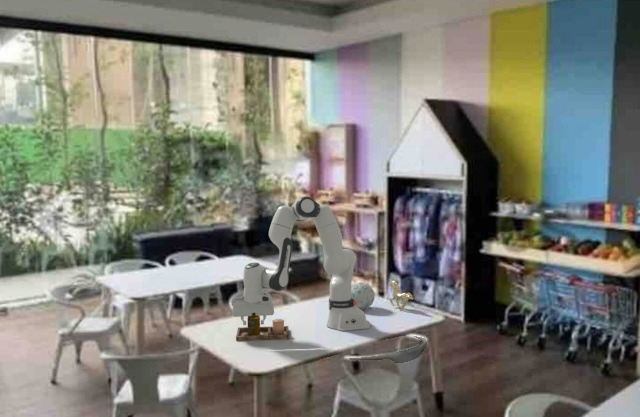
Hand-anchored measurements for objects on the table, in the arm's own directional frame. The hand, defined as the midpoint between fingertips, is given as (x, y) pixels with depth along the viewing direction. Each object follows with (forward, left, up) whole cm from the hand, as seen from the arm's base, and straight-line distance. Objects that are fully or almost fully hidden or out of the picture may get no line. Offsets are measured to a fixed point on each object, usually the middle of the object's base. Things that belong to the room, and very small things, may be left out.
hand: (253, 324), depth 279 cm
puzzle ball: (-59, -42, -6) cm, 73 cm away
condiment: (+1, 0, -6) cm, 6 cm away
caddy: (-4, 0, -6) cm, 8 cm away
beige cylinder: (-12, 0, -6) cm, 13 cm away
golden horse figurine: (-81, -39, -6) cm, 90 cm away
